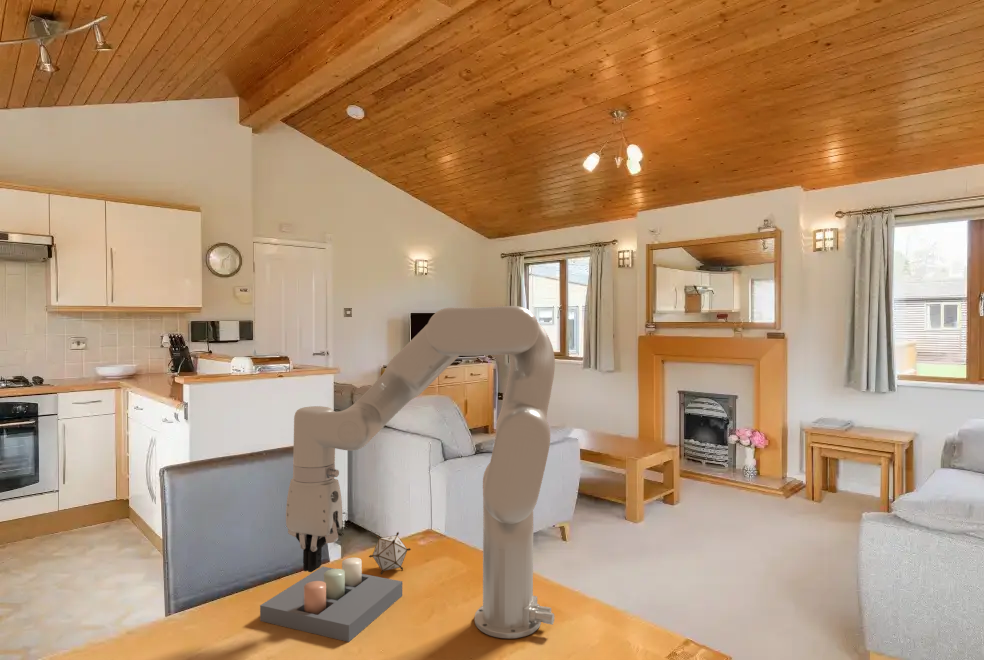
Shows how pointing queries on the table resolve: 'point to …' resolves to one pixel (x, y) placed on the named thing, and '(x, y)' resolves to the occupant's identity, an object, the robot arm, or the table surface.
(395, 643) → the table surface
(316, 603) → the pink egg
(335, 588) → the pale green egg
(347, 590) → the panel
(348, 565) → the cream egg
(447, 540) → the table surface
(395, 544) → the game die
